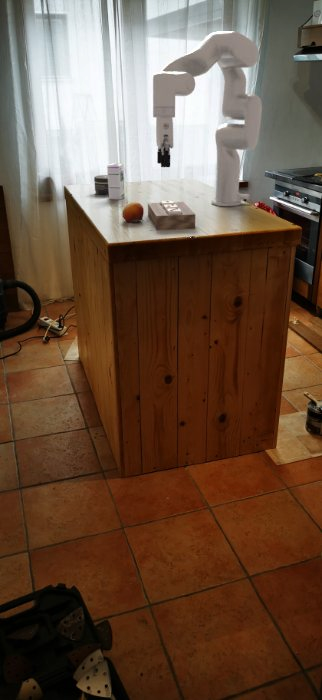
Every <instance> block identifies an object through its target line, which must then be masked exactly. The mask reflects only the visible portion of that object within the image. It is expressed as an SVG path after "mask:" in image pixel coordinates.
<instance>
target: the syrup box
mask: <svg viewBox="0 0 322 700" xmlns="http://www.w3.org/2000/svg"><path fill="white" fill-rule="evenodd" d="M106 168H107V169H106V170H107V175H108V189H109V195H108V199H109V200H122V199H123V198H125V176H124V175H125V174H124V164H123V163H118V162H116V163H110V164H108V165H107V166H106Z"/></svg>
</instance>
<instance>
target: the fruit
mask: <svg viewBox="0 0 322 700" xmlns="http://www.w3.org/2000/svg"><path fill="white" fill-rule="evenodd" d="M144 213H145V211H144V206H143V205H142V204H141V203H140V202H130V203H127V204H126V205H125V206H124V208H123V210H122V218H123V220H125V221H126V223H127V222H128V223H138V221H143V217H144Z"/></svg>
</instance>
